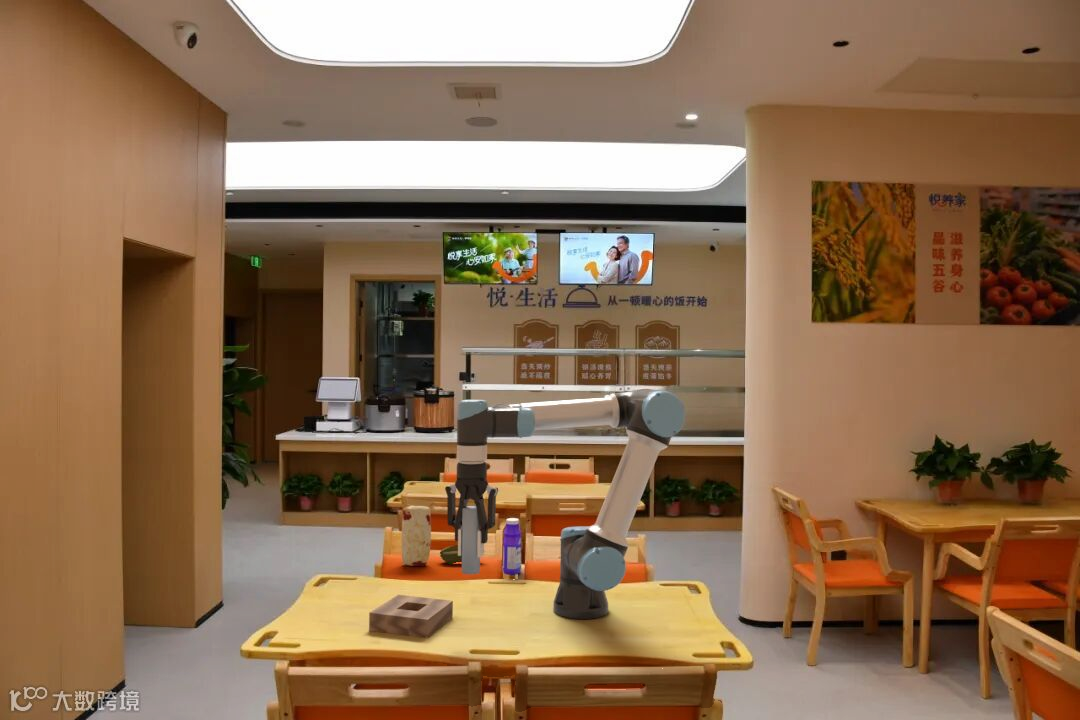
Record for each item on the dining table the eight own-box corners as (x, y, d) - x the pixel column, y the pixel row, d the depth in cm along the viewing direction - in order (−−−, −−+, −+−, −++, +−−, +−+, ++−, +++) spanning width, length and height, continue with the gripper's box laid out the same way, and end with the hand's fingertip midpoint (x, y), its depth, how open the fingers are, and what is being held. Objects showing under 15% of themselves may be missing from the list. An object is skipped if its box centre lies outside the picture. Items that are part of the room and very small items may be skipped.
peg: (482, 570, 196) (483, 506, 196) (476, 575, 192) (476, 510, 192) (465, 568, 198) (466, 505, 198) (458, 573, 193) (459, 508, 193)
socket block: (452, 617, 208) (452, 600, 208) (427, 637, 192) (427, 619, 192) (398, 611, 212) (398, 594, 212) (369, 630, 197) (369, 612, 197)
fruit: (460, 557, 272) (460, 538, 272) (485, 563, 264) (486, 543, 264) (436, 563, 263) (436, 544, 263) (462, 569, 256) (462, 549, 256)
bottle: (517, 576, 248) (518, 521, 248) (500, 575, 250) (501, 520, 250) (522, 570, 256) (523, 517, 256) (506, 569, 257) (506, 516, 257)
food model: (399, 567, 257) (400, 506, 257) (402, 562, 263) (403, 503, 263) (429, 568, 257) (430, 507, 257) (431, 562, 263) (432, 503, 263)
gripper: (509, 461, 196) (509, 554, 196) (445, 458, 201) (444, 549, 201) (500, 465, 189) (499, 561, 189) (433, 461, 194) (432, 555, 194)
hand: (471, 554), depth 195 cm, fingers closed on peg, 4 cm apart
